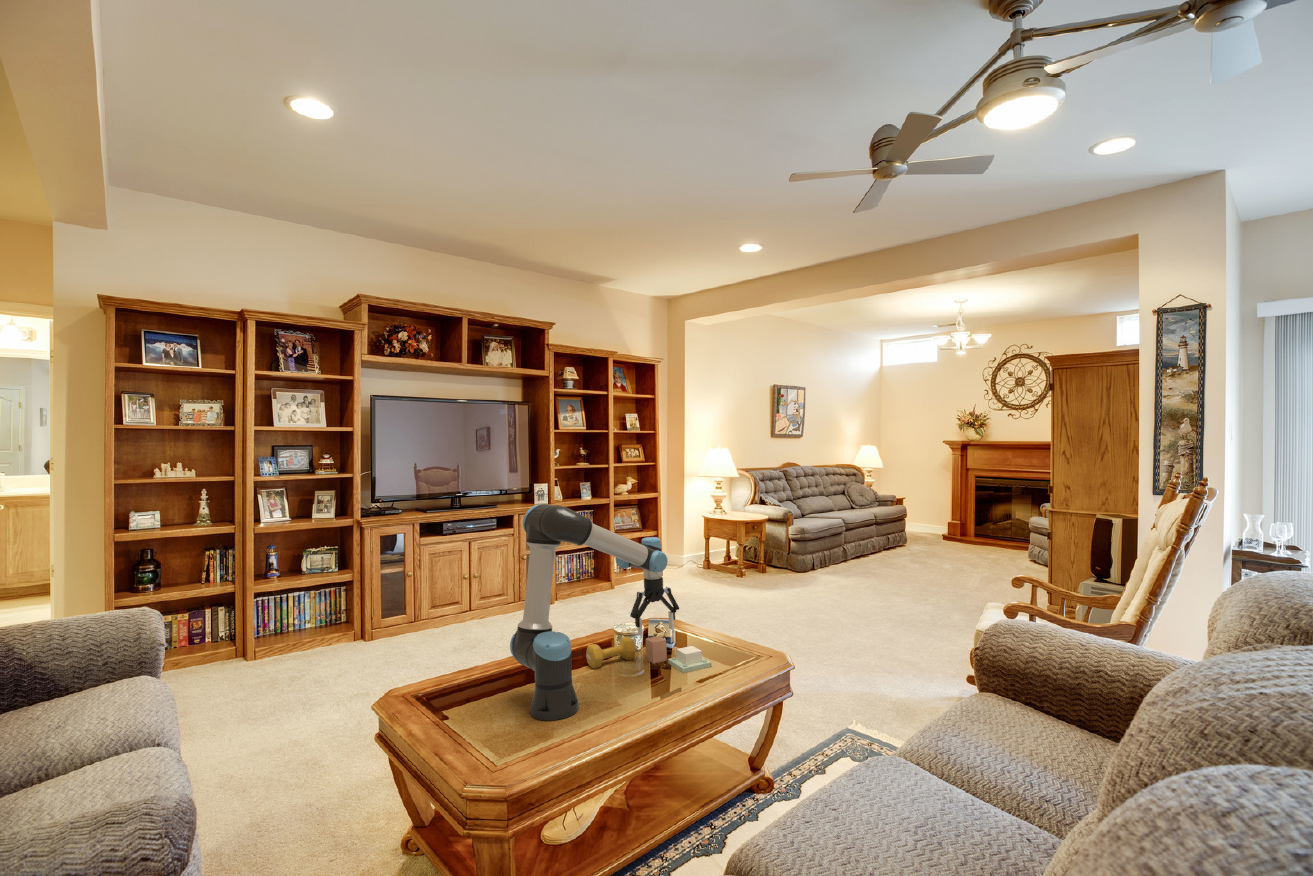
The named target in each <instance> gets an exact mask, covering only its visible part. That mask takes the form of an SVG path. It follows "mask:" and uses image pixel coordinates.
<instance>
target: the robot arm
mask: <svg viewBox="0 0 1313 876" xmlns="http://www.w3.org/2000/svg"><path fill="white" fill-rule="evenodd" d="M522 528H523V530H524V532H525V533H526V544H527V546H528V547H529V557H528V565H527V576H526V585H525V594H524V595H525V596H524V597H525V598H524V606H523V613H522V614H523V615H522V617H523V618H522V620H521V621H520V622H518V623H517V628H516V631H515V633H514V634H513V635H512V636H511V638H510V639H511V640H510V644H509V648H510V649H509V650H510V653H511V656H512V657H513V658H514V659H515V661H516V662H518V663H519V664H520V665H522V666H525V667H527V668H529V669H530V670H532V671H534V692H533V694H532V698H531V701H530V705H529V706H530V708H529V709H530V711H529V712H530V715H531V717H532V718H534V719H537V720H540V721H556V720H562V719H566V718H569V717H571V716H573V715H574V714H576V713H577V712H578V710H579V708H580V707H579V704H580V703H579V699H578V696H577V693H576V691H575V687H574V685H573V674H572V673H573V668H572V666H573V665H572V644H571V639H570V637H569V636H568V635H567V634H566V633H564V632H560V631H554V630H553V624H552V623H551V622H550V621H549V619H550V609H551V608H550V607H551V599H552V587H553V581H554V580H553V578H554V568H555V558H556V557H555V556H556V550H557V549H558V548H559V547H560V546H561V543H562V542H564V543H570V544H574V545H576V546H579V547H580V546H583V545H584V546H587V547H589V548H592V549H594V550H597V551H599V552H602V553H605V554H607V555H608V556H611V557H612V556H613V557H614V558H615V563H616V566H617V567H618V568H619V569H629V568H634V569H639V570H642V572H643V573H642V574H643V589H644V591H643V592H642V591H641V592H640V591H637V592H636V597H635V601H634V603H633V607H632V609H631V611H630V614H629V616H630V618H632V619H634V622H635V624H634V626H635V627H636V628H637V635H638V636H640V637H643V634H644V633H643V618H641V617H642V615H643V613H644V612H645V610H646V609H647V607H648V605H650V603H655V602H660V601H661V602H662V604H664V606H665V607H666V608H667V609H668V610H669V611H668V628H669V629H670V630H675V623H674V622H675V620H676V614H677V611H679V610H680V606H679V605H678V603H677V600H676V599H675V597H674V596H673V593H672V589H671V588H670V587H669V586H665V588H664V578H663V575H664V574H663V572H664V571H665V569H666V568H667V566H668V562H669V561H668V556H667V555H666V553H665V552H663V551H662V549H663V548H662V542H661V539H660V538H659V537H657V536H655V537H654V536H651V537H650V536H647V537H644V538H642V539H641V543H639V542H636V541H634V540H632V539H630V538H627V537H625V536H622V535H620V534H618V533H616V532H614V531H611V530H608V528H607V529H606V528H604V527H602V526H599V525H597V524H595V523H593V520H591V519H590V518H589V517H586V516H584V515H582V514H580V513H579V512H577V511H575V510H572V509H570V508H568V507H567V506H562V505H554V504H546V503H542V504H535V505H533V506H532V507H530V508H529V509H528V510H527V511H526V512H525V514H524V516H523V518H522ZM664 593H665V594H666V596H667V597H668V600H669V602H668V601H667V599H666V598H665V597H664V596H663V595H664ZM643 598H644V599H643ZM642 599H643V602H642Z"/></svg>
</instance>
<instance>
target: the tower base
mask: <svg viewBox="0 0 1313 876" xmlns="http://www.w3.org/2000/svg"><path fill="white" fill-rule="evenodd" d="M667 664H669V665H670V666H672V667H673V668H674V669H676V670H678V671H679V672H681V673H682V674H685V673H689V672H694V671H698V670H703V669H708V668H711V667H712V662H711V661H710V660H708V659H707V658H704V657H703V651H702V650H701V649H699V648H697V647H696V646H694V645H690V646H685V647H681V648H679V647H678V648H676V657H674V656H673V657H672V658H667Z"/></svg>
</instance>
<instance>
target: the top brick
mask: <svg viewBox="0 0 1313 876" xmlns="http://www.w3.org/2000/svg"><path fill="white" fill-rule="evenodd" d="M667 651H668V650H667V639H665V638H663V636H660V635H657V636H652V637H646V638H645V656H646V657H645V659H646V660H647V661H648V662H650V663H651V664H652V665H653V664H658V663H662V662H666V661H667V662H668V654H667Z"/></svg>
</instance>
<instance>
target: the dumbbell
mask: <svg viewBox="0 0 1313 876" xmlns="http://www.w3.org/2000/svg"><path fill="white" fill-rule="evenodd" d="M636 652H637V647H636V643H635V641H634V639H633V638H632V637H629V636H624V637H622V638H620V640H619V645H616V646H612V647H611V646H610V647H607V648H603V649H602V648H601V646H600V645H598V644H595V643H593V644H592V643H591V644H588V645H587V647H586V652H585V657H586V663H587V664H588V666H589V668H592V669H599V668H600V667H601V666H602V665H603V660H604V659H605V660H606V659H608V658H613V657H617V656H621V658H622V659H624V660H626V661H631V660H633V659H635V656H636Z"/></svg>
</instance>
